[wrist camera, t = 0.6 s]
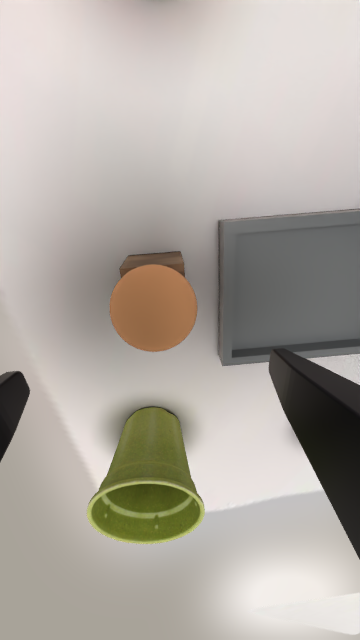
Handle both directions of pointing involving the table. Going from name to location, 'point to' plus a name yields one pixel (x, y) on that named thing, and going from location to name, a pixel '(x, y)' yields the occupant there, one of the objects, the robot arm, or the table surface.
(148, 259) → the brown wooden open cube
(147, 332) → the ball
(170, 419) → the plant pot
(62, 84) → the table surface
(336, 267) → the tray
